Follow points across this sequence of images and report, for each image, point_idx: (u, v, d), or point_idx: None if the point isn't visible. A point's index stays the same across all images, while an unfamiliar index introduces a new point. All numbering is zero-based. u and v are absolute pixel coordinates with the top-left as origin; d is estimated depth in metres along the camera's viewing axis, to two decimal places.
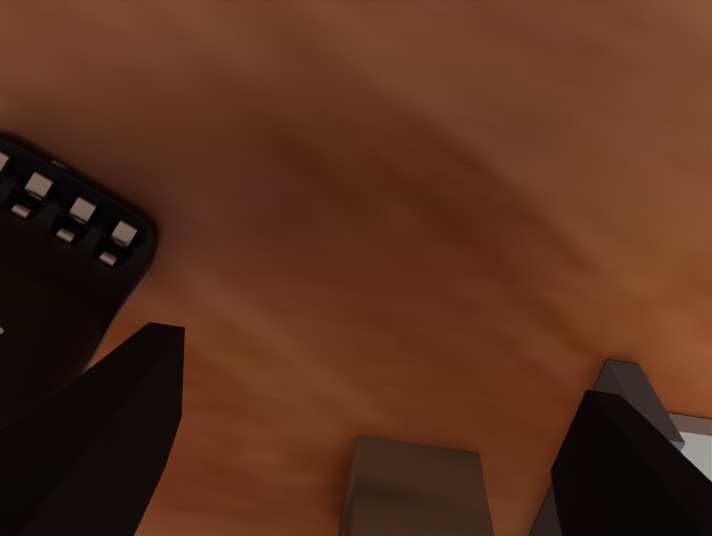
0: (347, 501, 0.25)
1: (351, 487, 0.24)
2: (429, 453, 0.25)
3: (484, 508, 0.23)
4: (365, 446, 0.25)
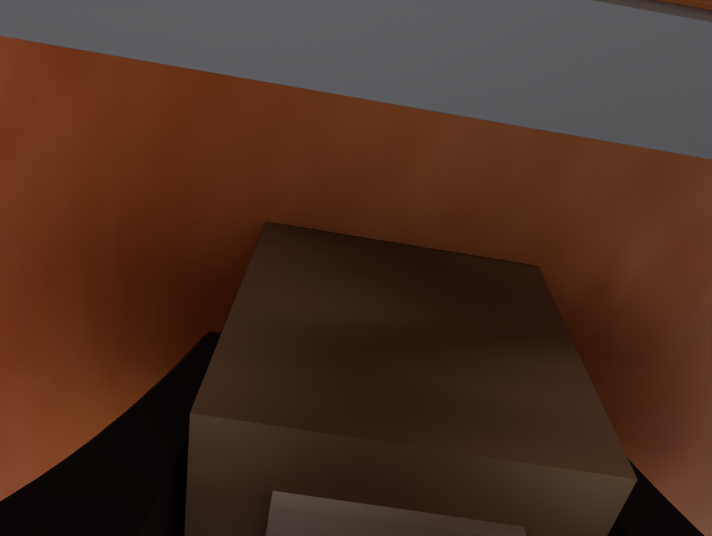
0: None
1: None
2: None
3: (231, 318, 0.09)
4: None
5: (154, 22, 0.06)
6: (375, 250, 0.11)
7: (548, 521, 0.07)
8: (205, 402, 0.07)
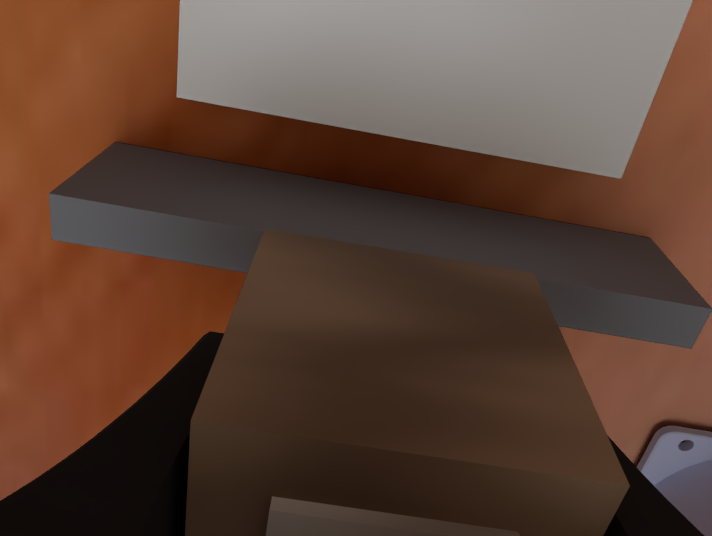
0: None
1: None
2: None
3: (231, 325, 0.09)
4: None
5: (251, 260, 0.15)
6: (373, 256, 0.11)
7: (543, 526, 0.07)
8: (205, 409, 0.07)
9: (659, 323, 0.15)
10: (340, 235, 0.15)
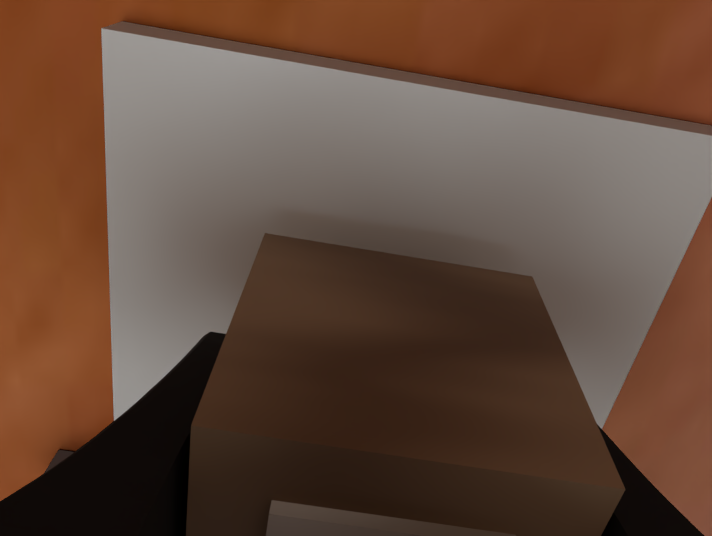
0: None
1: None
2: None
3: (230, 330, 0.09)
4: None
5: None
6: (372, 261, 0.11)
7: (540, 529, 0.08)
8: (206, 415, 0.07)
9: None
10: None
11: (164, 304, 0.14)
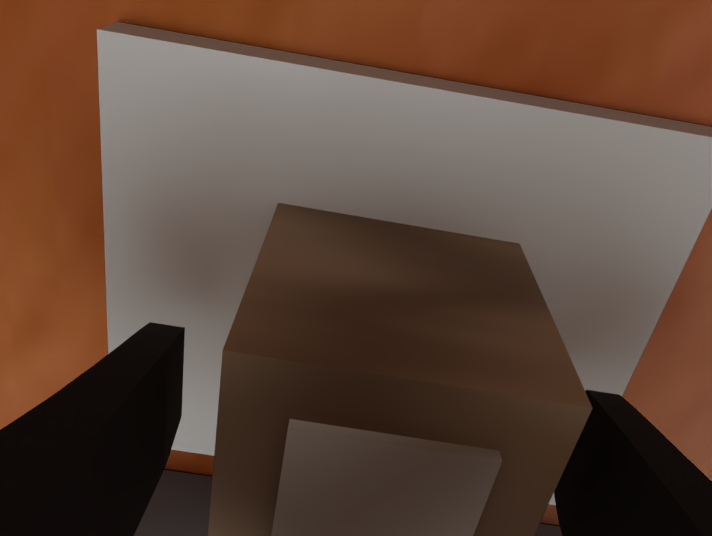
0: None
1: None
2: None
3: (251, 281, 0.10)
4: None
5: None
6: (375, 227, 0.12)
7: (520, 446, 0.09)
8: (234, 342, 0.08)
9: None
10: None
11: (161, 308, 0.14)
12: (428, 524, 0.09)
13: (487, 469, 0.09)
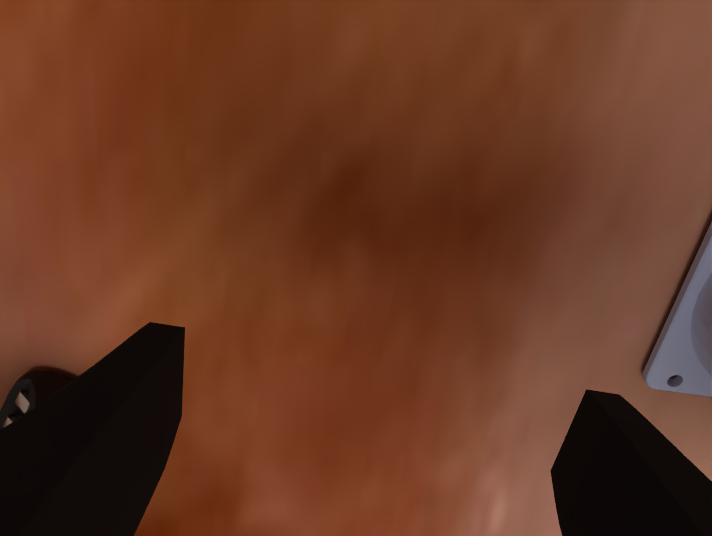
0: None
1: None
2: None
3: None
4: None
5: None
6: None
7: None
8: None
9: None
10: None
11: None
12: None
13: None
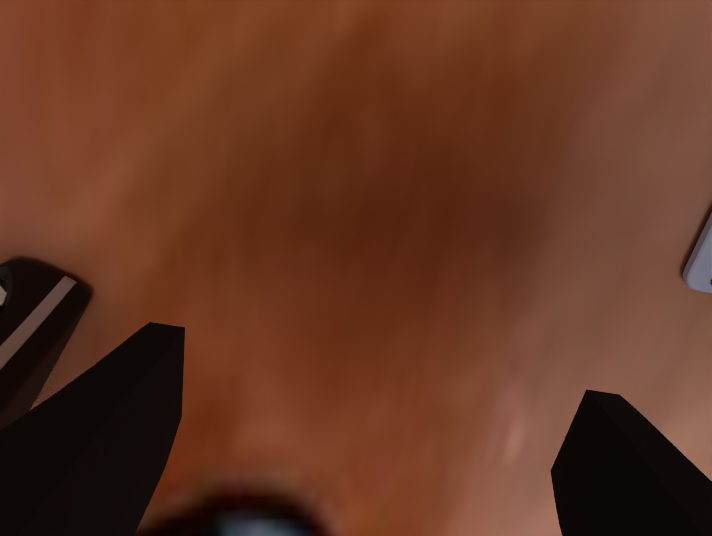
0: None
1: None
2: None
3: None
4: None
5: None
6: None
7: None
8: None
9: None
10: None
11: None
12: None
13: None
